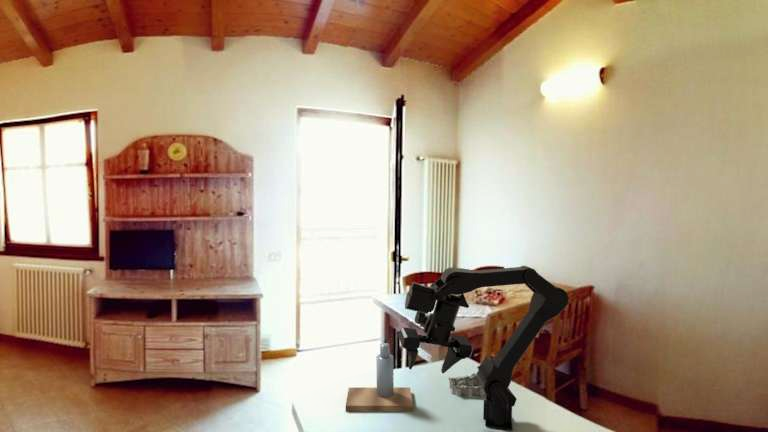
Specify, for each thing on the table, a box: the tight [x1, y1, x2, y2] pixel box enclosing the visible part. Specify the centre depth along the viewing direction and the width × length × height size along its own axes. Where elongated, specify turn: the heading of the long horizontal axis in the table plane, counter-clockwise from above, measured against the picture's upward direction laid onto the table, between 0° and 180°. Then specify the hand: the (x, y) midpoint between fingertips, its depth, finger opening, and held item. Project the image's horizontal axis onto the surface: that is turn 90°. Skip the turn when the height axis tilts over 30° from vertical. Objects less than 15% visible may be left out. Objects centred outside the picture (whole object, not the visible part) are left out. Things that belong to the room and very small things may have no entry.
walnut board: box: [345, 386, 414, 412], centre depth 109 cm, size 18×10×2 cm, turn 90°
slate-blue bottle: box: [375, 342, 395, 397], centre depth 110 cm, size 5×5×14 cm
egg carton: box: [448, 372, 486, 397], centre depth 115 cm, size 11×8×4 cm
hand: (426, 370), depth 101 cm, fingers open, 9 cm apart
